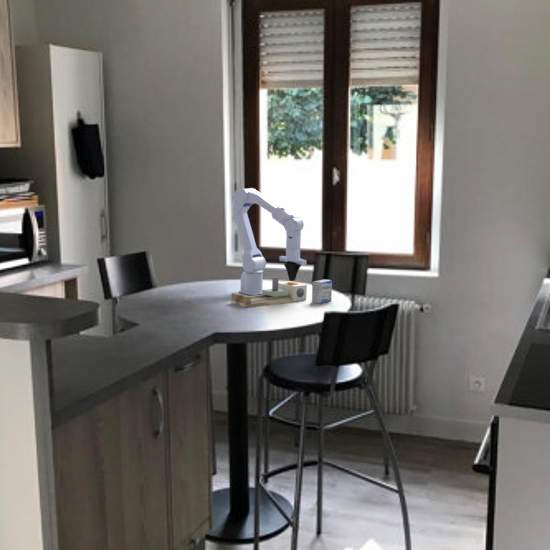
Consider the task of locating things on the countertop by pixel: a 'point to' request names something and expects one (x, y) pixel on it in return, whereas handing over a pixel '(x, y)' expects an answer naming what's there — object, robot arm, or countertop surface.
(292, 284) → the button
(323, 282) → the medicine box
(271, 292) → the carriage
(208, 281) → the countertop surface
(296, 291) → the end cabinet
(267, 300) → the rail track
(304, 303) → the countertop surface
